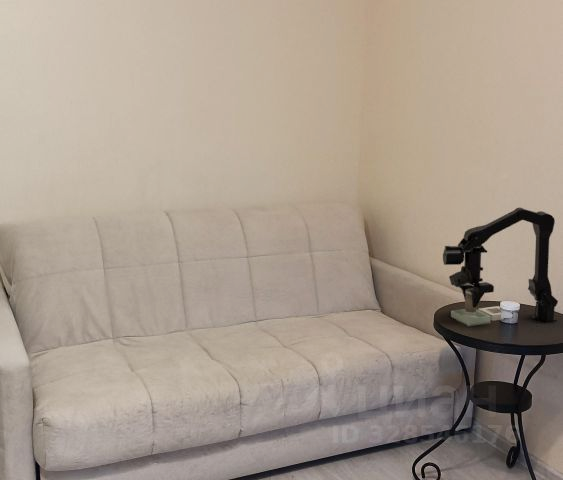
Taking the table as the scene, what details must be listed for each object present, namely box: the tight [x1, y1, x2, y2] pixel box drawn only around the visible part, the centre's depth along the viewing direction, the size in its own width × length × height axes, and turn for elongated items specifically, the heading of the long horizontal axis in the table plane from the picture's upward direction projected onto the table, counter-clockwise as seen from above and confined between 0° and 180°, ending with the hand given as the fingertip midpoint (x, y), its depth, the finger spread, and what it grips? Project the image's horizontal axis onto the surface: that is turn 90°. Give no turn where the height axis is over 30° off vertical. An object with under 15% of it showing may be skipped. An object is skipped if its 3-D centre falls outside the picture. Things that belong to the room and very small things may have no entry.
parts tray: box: [450, 308, 491, 327], centre depth 251 cm, size 11×9×2 cm
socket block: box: [477, 305, 502, 322], centre depth 255 cm, size 9×9×2 cm
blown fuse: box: [464, 288, 478, 315], centre depth 250 cm, size 4×4×9 cm
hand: (471, 305), depth 250 cm, fingers closed on blown fuse, 4 cm apart
